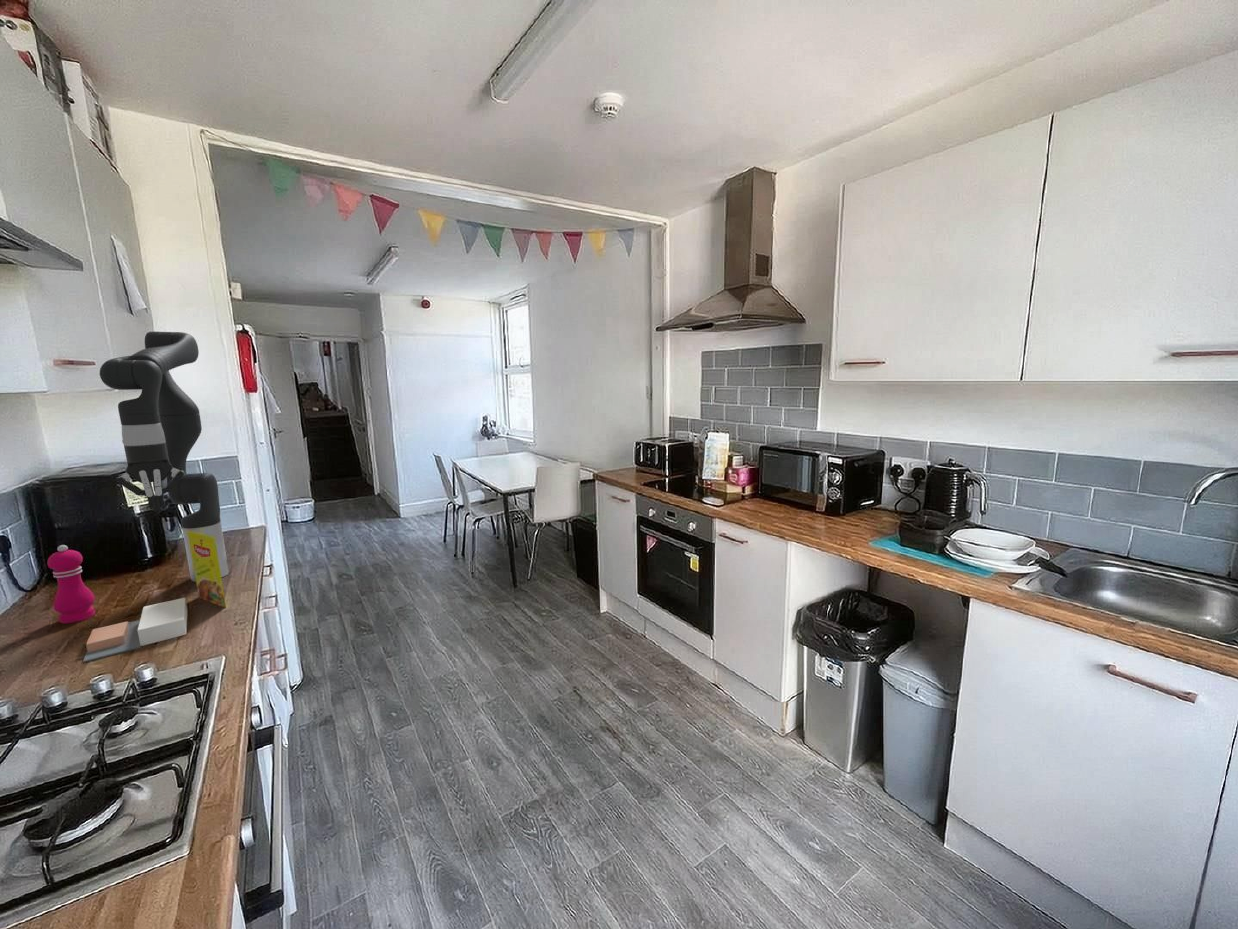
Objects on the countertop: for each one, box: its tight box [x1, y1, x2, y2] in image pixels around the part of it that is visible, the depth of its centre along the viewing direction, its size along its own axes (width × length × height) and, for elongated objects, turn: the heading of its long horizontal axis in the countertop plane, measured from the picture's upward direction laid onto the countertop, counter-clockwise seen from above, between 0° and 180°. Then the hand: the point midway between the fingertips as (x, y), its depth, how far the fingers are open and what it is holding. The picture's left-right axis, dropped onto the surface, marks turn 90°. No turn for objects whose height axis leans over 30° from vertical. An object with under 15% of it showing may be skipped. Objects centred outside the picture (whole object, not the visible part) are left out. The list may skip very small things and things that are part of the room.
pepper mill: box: [46, 544, 96, 624], centre depth 126 cm, size 7×7×20 cm
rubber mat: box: [82, 619, 142, 664], centre depth 116 cm, size 18×9×1 cm, turn 40°
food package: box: [187, 530, 227, 608], centre depth 134 cm, size 15×1×20 cm, turn 62°
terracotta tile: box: [85, 620, 129, 652], centre depth 115 cm, size 9×6×2 cm, turn 40°
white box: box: [138, 597, 188, 647], centre depth 121 cm, size 16×8×4 cm, turn 40°
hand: (157, 509), depth 123 cm, fingers closed
